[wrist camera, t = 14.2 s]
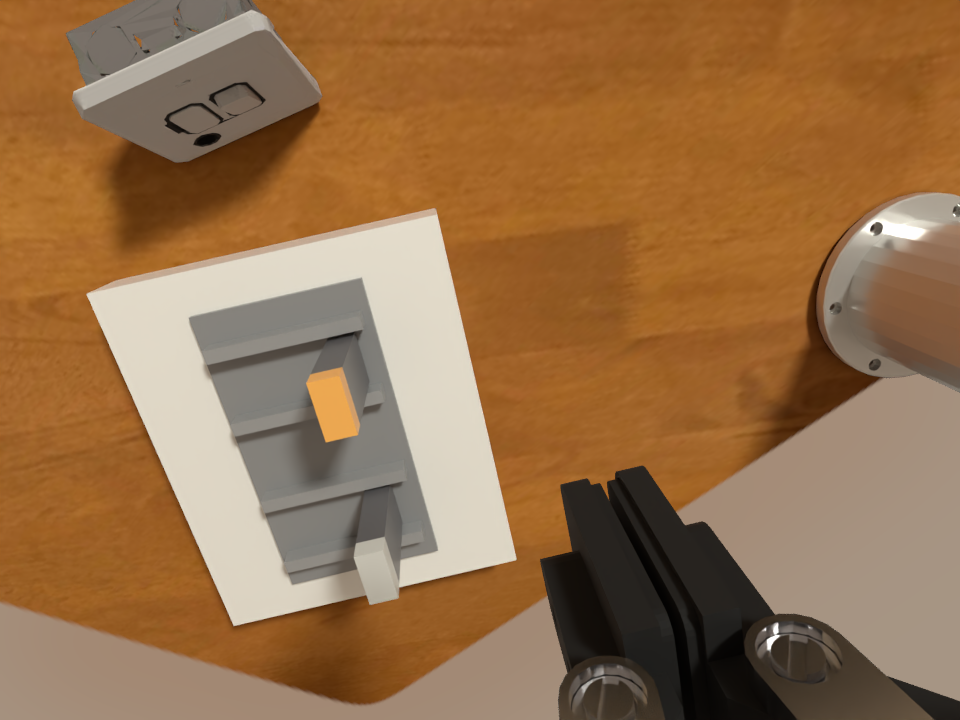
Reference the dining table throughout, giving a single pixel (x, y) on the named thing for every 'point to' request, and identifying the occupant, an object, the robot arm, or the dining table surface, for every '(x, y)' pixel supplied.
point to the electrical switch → (187, 74)
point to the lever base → (314, 416)
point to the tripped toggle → (339, 387)
